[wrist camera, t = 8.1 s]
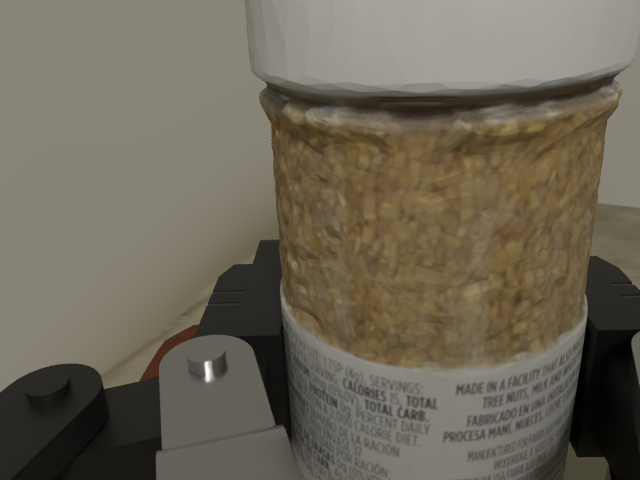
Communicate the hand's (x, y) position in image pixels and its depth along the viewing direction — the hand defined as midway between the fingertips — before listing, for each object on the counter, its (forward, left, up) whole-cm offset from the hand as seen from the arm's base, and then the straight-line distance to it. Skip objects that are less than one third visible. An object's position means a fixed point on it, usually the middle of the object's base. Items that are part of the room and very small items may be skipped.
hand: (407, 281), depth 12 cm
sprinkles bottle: (+2, +2, -7) cm, 8 cm away
